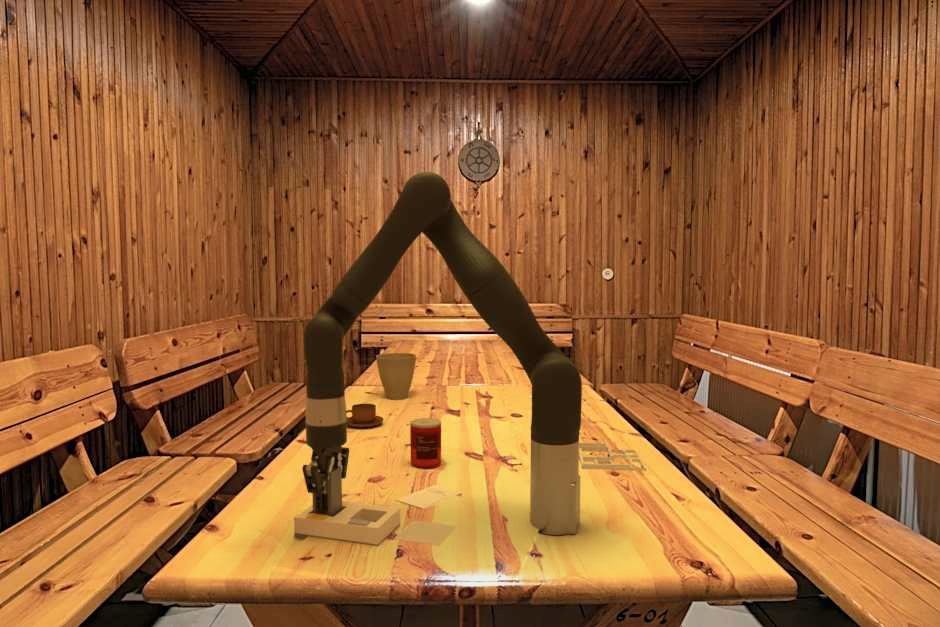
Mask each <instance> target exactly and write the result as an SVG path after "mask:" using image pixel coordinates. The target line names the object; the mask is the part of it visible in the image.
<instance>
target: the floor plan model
mask: <svg viewBox="0 0 940 627" xmlns="http://www.w3.org/2000/svg"><path fill="white" fill-rule="evenodd" d="M582 452H598V455H599V456H596V454H595V455H594V454H593V456H585V455H582ZM605 453H606V454H607V456H601V454H602V455H605ZM630 453H631V454H630ZM632 453H634V454H632ZM614 458H620V459H623V458H624V459H627V461H628V462H629V464H628V463H627V464H626V463H624V462H623V463H613V462H614ZM585 462H594V463H585ZM634 462H636V463H639V466H640V467H634ZM579 463H580V465H581V469H582V470H610V471H635V472H637V471H638V472H641V471H642V472H646V471H647V467H646V466H645V464H644V462H643V460H642V458H640V457H639V455H638V453H637V452H636V450H634V449H611V448H610V447H609V446H608V444H607V443H605V442H602V443H601V442H579Z"/></svg>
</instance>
